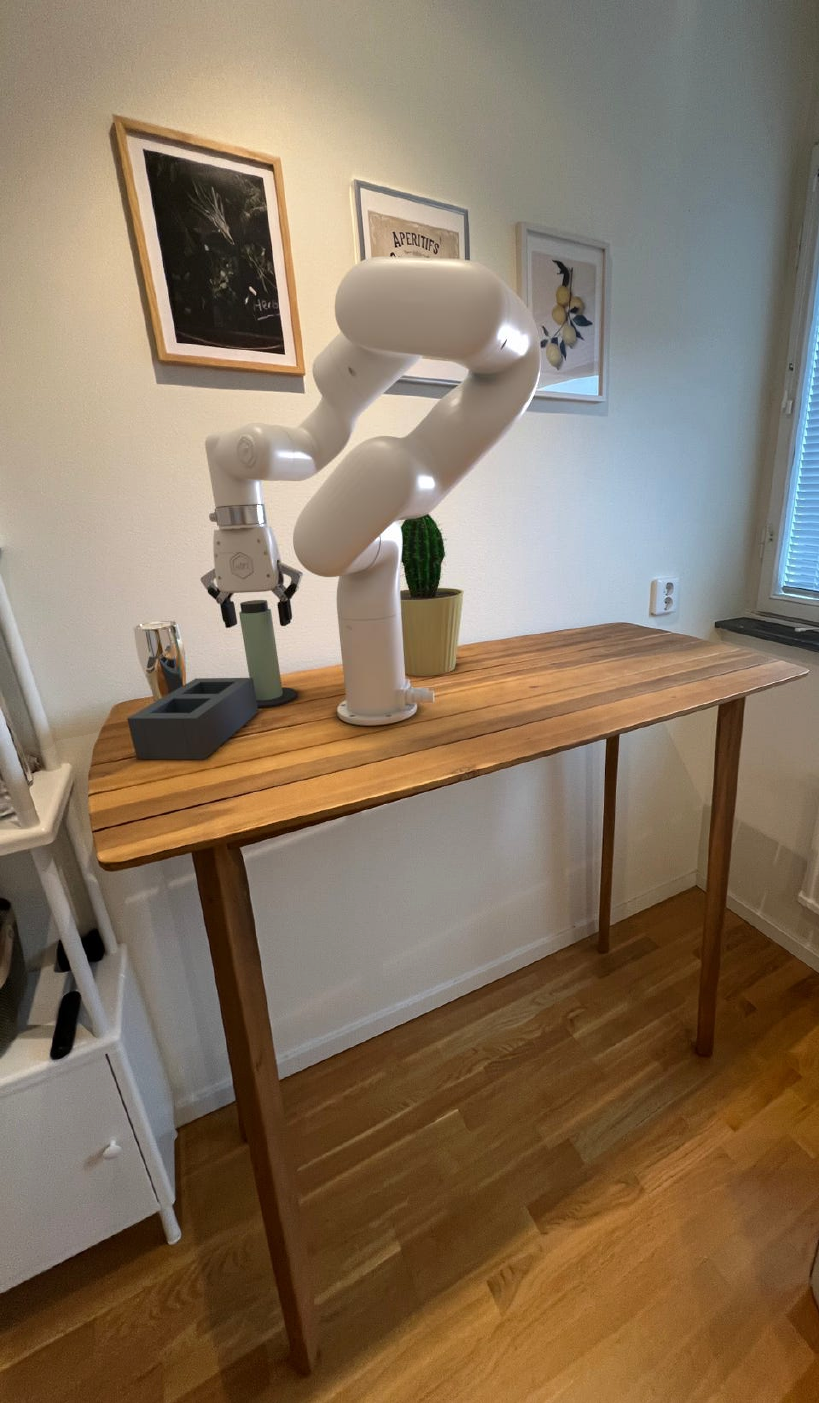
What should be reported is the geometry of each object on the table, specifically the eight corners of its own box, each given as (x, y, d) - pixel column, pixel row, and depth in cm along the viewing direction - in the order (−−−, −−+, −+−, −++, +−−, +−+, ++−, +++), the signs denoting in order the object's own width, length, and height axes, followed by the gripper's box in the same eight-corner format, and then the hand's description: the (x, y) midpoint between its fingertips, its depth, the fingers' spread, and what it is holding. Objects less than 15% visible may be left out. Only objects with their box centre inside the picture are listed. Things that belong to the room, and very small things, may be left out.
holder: (258, 712, 90) (253, 677, 88) (204, 759, 73) (196, 718, 71) (202, 712, 92) (195, 678, 90) (136, 759, 75) (126, 718, 73)
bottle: (287, 690, 99) (274, 599, 93) (276, 700, 94) (262, 604, 88) (259, 691, 100) (245, 600, 94) (247, 700, 95) (232, 605, 89)
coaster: (305, 689, 101) (305, 686, 101) (286, 708, 91) (285, 705, 91) (254, 689, 102) (253, 687, 102) (229, 708, 93) (229, 705, 93)
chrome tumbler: (180, 720, 89) (161, 629, 84) (142, 719, 90) (121, 629, 85) (204, 705, 95) (187, 620, 90) (168, 705, 96) (150, 620, 91)
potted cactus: (459, 655, 117) (455, 506, 107) (471, 675, 103) (468, 505, 93) (387, 660, 116) (376, 511, 107) (389, 681, 102) (377, 511, 92)
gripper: (179, 522, 85) (199, 631, 90) (285, 515, 82) (300, 628, 88) (203, 521, 92) (221, 622, 97) (302, 514, 89) (314, 619, 95)
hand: (258, 625), depth 92 cm, fingers open, 9 cm apart
